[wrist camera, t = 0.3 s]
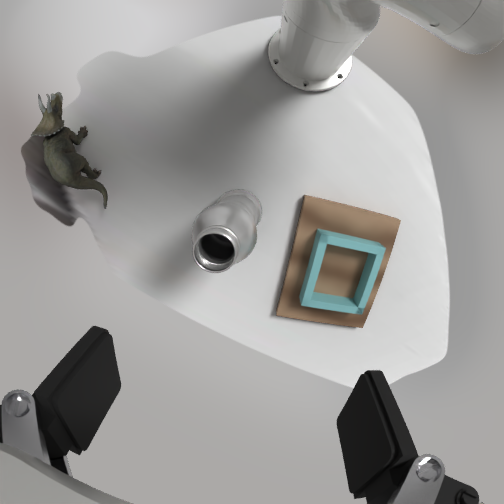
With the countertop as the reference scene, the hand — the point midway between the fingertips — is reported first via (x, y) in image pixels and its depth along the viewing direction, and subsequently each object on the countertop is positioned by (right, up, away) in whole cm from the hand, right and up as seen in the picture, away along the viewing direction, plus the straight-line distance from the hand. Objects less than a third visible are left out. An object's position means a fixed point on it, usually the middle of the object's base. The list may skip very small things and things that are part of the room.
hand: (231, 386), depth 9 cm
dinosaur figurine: (-29, +22, +30) cm, 47 cm away
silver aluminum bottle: (-1, +11, +32) cm, 34 cm away
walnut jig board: (+15, +2, +34) cm, 37 cm away
